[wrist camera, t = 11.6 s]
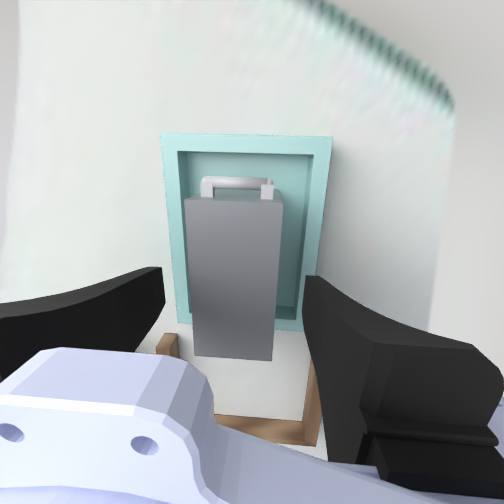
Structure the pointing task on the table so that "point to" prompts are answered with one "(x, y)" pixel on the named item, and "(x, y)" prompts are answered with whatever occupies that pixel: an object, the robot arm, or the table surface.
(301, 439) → the frame
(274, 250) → the gray box with handle
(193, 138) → the tray
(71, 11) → the table surface
